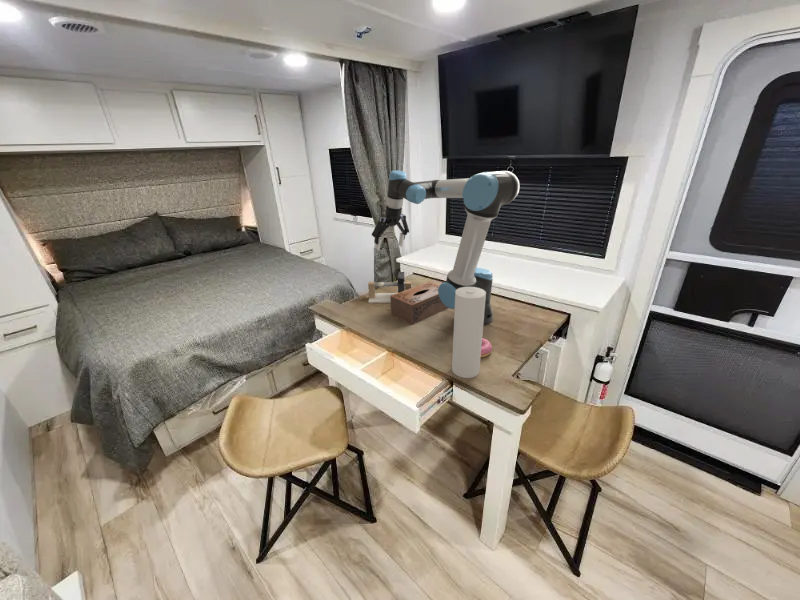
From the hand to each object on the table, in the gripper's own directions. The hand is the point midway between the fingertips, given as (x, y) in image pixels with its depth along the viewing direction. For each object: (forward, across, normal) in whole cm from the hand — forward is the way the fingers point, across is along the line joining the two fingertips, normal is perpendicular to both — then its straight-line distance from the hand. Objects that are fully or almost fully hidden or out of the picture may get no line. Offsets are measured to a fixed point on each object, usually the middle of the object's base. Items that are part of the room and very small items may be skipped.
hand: (389, 247), depth 164 cm
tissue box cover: (+21, -3, +29) cm, 36 cm away
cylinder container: (+10, +13, +74) cm, 76 cm away
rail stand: (+26, +1, +8) cm, 27 cm away
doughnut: (+11, +1, +68) cm, 69 cm away
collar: (+22, -4, +11) cm, 25 cm away
